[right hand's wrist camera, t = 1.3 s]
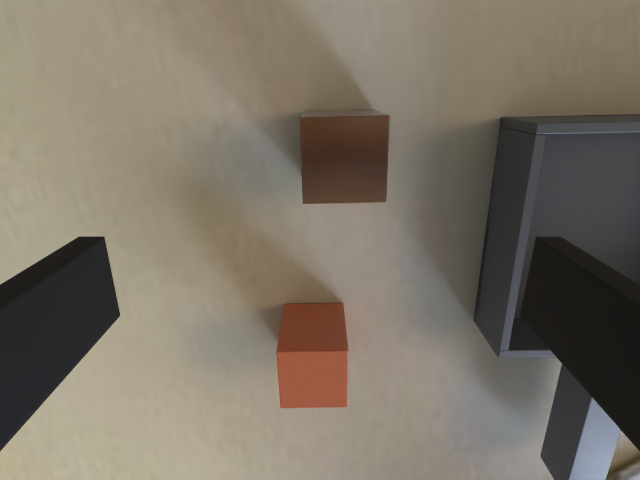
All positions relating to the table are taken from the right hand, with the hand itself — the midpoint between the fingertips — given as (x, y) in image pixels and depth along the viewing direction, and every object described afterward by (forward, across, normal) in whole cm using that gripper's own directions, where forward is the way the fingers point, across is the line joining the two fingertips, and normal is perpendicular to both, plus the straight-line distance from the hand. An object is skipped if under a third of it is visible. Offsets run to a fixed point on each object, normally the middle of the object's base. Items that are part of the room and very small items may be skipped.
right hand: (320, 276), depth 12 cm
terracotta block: (+16, 0, -12) cm, 20 cm away
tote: (+16, +20, -10) cm, 27 cm away
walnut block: (+16, +1, +2) cm, 16 cm away
